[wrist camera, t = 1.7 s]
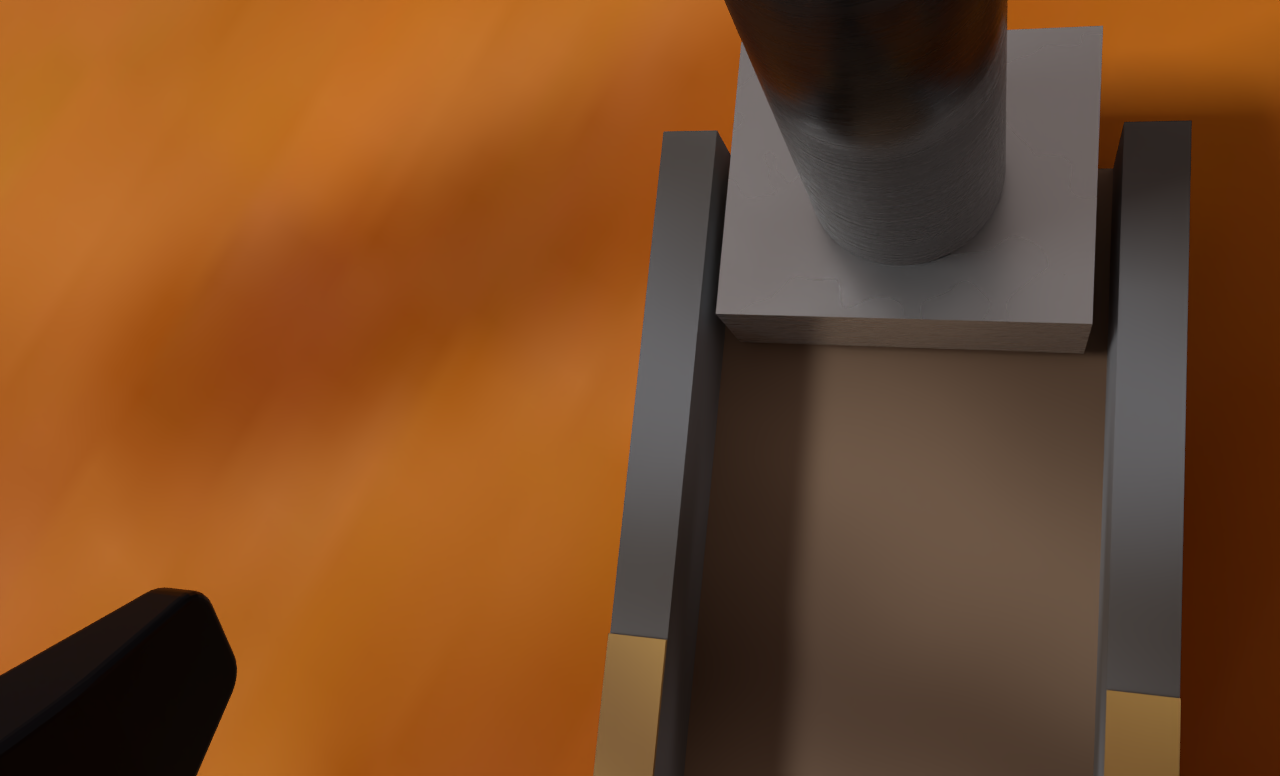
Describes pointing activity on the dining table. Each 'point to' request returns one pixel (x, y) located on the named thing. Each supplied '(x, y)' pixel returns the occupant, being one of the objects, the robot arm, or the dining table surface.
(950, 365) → the press base
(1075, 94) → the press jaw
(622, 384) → the dining table surface
